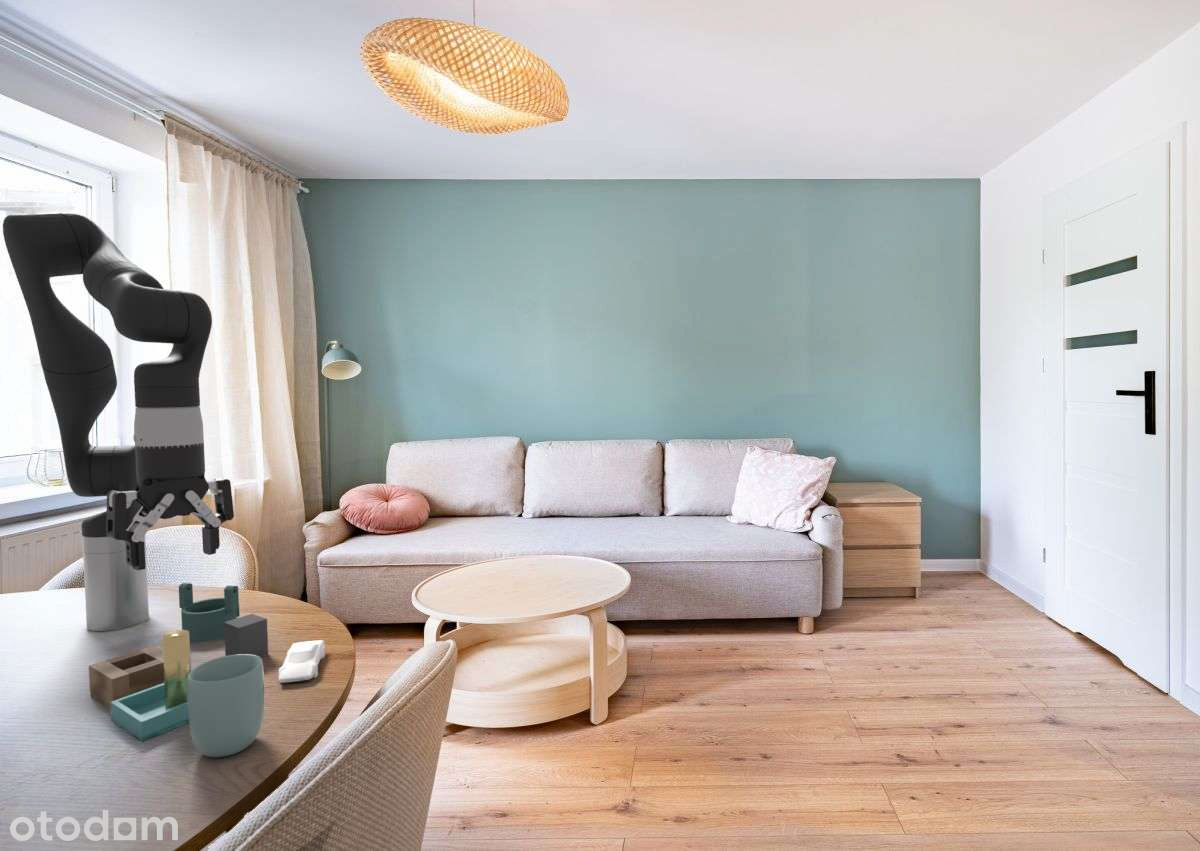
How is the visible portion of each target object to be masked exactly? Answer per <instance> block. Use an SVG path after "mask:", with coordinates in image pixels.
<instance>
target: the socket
mask: <svg viewBox="0 0 1200 851" xmlns="http://www.w3.org/2000/svg"><path fill="white" fill-rule="evenodd" d="M88 678H89V680H88V681H89V696H90V697H91V698H93V699H94V700H95V701H97V702H98V703H100V704H101V705H103V706H105V707H106V708H107V709H110V710H111V703H110V702H112V701H114V700H117V699H120V698H123V697H126V696H129V695H131V694H134V693H137V692H140V691H143V690H145V689H148V688H151V687H154V686H157V685H159V684H162V683H164V667H163V648H160V647H157V646H155V645H154V644H153V645H150V646H147V647H144V648H141V649H137V650H135V651H130V652H128V653H124V654H121V655H117V656H114V657H111V658H108V659H105V660H101V661H97V662H95V663H91V664H88Z"/></svg>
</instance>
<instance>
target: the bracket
mask: <svg viewBox="0 0 1200 851" xmlns="http://www.w3.org/2000/svg"><path fill="white" fill-rule="evenodd" d="M193 588H194V587H193V583H192V582H191V583H189V582H182V583H180V584H179V586H178V599H179V600H178V602H179V608H180V609H181V610H180V612H181V630H187V631H189V641H190V644H201V643H208V642H213V641H217V640H221V639H225V634H224V622H227V621H230V620H233V619H236V618H240V617H241V616H240V600H239V599H240V598H239V596H240V595H239V586H238V585H226V586H225V587H224V588H223V594H224V596H223V597H214V598H207V599H201V600H198V601H195V602H194V595H193V593H194V591H193V590H194V589H193Z"/></svg>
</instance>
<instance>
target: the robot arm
mask: <svg viewBox="0 0 1200 851" xmlns="http://www.w3.org/2000/svg"><path fill="white" fill-rule="evenodd" d="M2 235H3V239H4V244H5V247H6V250H7V254H8V257H9V260H10V261H11V266H12V268H13V270H14V274H15V277H16V279H17V282H18V284H19V288H20V290H21V293H22V295H23V299H24V301H25V304H26V308H27V311H28V314H29V318H30V321H31V325H32V329H33V334H34V338H35V342H36V346H37V352H38V354H39V356H38V357H39V361H40V365H41V369H42V372H43V376H44V381H45V384H46V387H47V390H48V393H49V396H50V397H49V398H50V400H51V403H52V406H53V409H54V413H55V417H56V421H57V425H58V430H59V434H60V439H61V440H60V441H61V446H62V454H63V459H64V460H63V461H64V467H65V473H66V477H67V480H68V483H69V486H70V489H71V491H72V492H73V494H75V495H76V496H77V497H82V498H83V497H84V498H93V497H106V510H105V511H103V512H99V513H95V514H94V515H91V516H88V517H87V518H85V519H84V520H83V521H82V522H81V539H82V540H81V541H82V556H83V557H82V558H83V577H84V596H85V597H84V598H85V617H86V618H85V621H86V622H85V623H86V629H87V630H89V631H93V632H100V631H101V632H103V631H104V632H105V631H112V630H113V631H114V630H118V629H120V630H121V629H124V628H127V627H132V626H134V625H138V624H141V623H142V622H145V621H146V620H148V619H149V616H150V611H149V608H150V606H149V587H148V585H149V584H148V566H147V565H148V562H147V560H148V559H147V544H146V534H147V533H148V531H149V530H150V529H151V528H153V527H154V526H155V525H156V524H157V522H158V520H159V519H162V520H169V519H172V518H175V517H177V516H178V517H186V516H191V514H192V515H193V516H194V517H196V518H197V519H198V520H200V522H202V524H203V525H204V526H202V527H201V533H202V534H201V536H202V552H203V554H204V555H205V554H206V555H209V556H210V555H215V554H216V553H217V550H219V548H220V543H221V542H220V526H221V525H222V524H223V523H225V522H227V521H232V520H233V519H234V518H235V513H234V512H235V511H234V505H233V504H234V503H233V494H232V485H231V480H230V479H228V478H224V477H216V478H214V479H213V480H206V474H205V473H206V463H205V462H206V461H205V458H206V457H205V438H204V437H205V436H204V422H203V416H202V412H201V407H200V406H201V400H200V399H201V397H200V396H201V393H200V381H199V380H200V374H201V369H202V365H203V361H204V357H205V352H206V349H207V345H208V342H209V338H210V334H211V330H212V326H213V325H212V324H213V318H212V317H213V316H212V311H211V309H210V307H209V305H208V303H207V302H206V301H205V299H204V298H203V297H202V296H200V295H199V294H197V293H194V292H190V291H183V290H174V289H166V288H164V287H163V285H162V284H161V283H160V281H159V280H157V279H156V278H155V277H154V276H153V275H152V274H150V273H148V272H147V271H146V270H144V269H142V268H141V267H139V266H138V265H136V264H134V263H133V262H132V261H130V260H129V259H128V258H127V257H126V256H125V255H124V254H123V252H122V251H121V250H120V249H119V248H118V247H117V246H116V244H115V243H114V242H113V240H111V238H110V237H109V236H108V235H107V234H106V233H105V231H103V230H102V228H101V227H100V226H99V225H98V224H97V223H96V222H94V221H93V220H92V219H91V218H89V217H88V216H86V215H84V214H81V213H77V212H70V211H69V212H67V211H66V212H64V211H63V212H33V213H32V212H31V213H12V214H8V215H7V216H6V217H4V219H3V222H2ZM75 275H76V276H77V275H79V276H80V275H82V280H83V285H84V287H85V289H86V291H87V292H88V294H89V295H90V296H91V297H92V298H93V299H94V300H95V301H96V302H98V303H99V304H100V305H102V306H103V307H104V308H106V309H107V310H108V311H109V314H110V316H111V317H112V319H113V323H114V327H115V328H116V331H117V332H118V333H119V334H120V335H121V336H122V337H125V338H126V339H128V340H131V341H135V342H140V343H151V344H153V343H154V344H155V343H159V344H172V348H171V351H170V353H169V354H168V356H167V357H165V358H163V359H159V360H153V361H147V362H144V363H140V364H138V365H137V366H136V367H135V368H134V373H133V385H134V386H133V387H134V404H135V405H134V407H135V409H134V410H135V412H134V423H133V442H134V445H106V446H105V445H103V446H101V445H100V446H99V445H98V446H93V445H91V443H90V440H89V439H90V432H91V430H92V429H93V427H94V424H95V422H96V420H97V419H98V418H99V416H100V415H101V413H102V412H103V411H104V409H105V408H106V407H107V405H108V404H109V403H110V401H111V400H112V398H113V396H114V395H115V392H116V390H117V386H118V380H117V379H118V377H117V374H116V368H115V363H114V358H113V354H112V350H111V349H110V346H109V345H108V344H107V343H106V342H105V340H104V339H103V338H102V337H101V336H99V334H97V333H96V331H94V330H93V329H92V328H90V327H89V326H88V325H86V324H85V323H84V322H83V321H82V320H80V318H78V317H77V316H76V315H74V313H72V312H71V311H70V310H69V308H68V307H66V306H65V305H64V304H63V303H62V301H60V300H59V298H58V297H57V296H56V293H55V292H54V290H53V288H52V285H51V278H54V277H66V276H75ZM208 491H210V494H212V495H213V498H214V506H215V513H214V512H213V510H212V509H211V508H210V507H209V506H208V505H207V504H206V502H204V501H203V498H204V497H205V496H206V494H207V493H208Z"/></svg>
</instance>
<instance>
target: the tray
mask: <svg viewBox="0 0 1200 851" xmlns="http://www.w3.org/2000/svg"><path fill="white" fill-rule="evenodd" d="M110 703H111V709H110V718H111V719H110V720H111V722H113V723H114V724H116V725H117V726H119V727H120V728H122V729H123V730H125V731H126V732H127V733H129V734H130V735H132V736H134V737H135V738H136V739H138V740H140V742H145V741H147V740H150V739H152V738H154V737H156V736H160V735H161V734H164V733H166V732H169V731H172V730H173V729H176V728H178V727H181V726H183V725H186V724H187V723H188V724H189V718H188V702H186V703H183V704H181V705H178V706H176V707H173V708H170V709H168V710H165V689H164V683H162V684H159V685H157V686H154V687H151V688H148V689H145V690H143V691H140V692H137V693H134V694H131V695H129V696H126V697H123V698H120V699H117V700H114V701H112V702H110Z"/></svg>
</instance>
